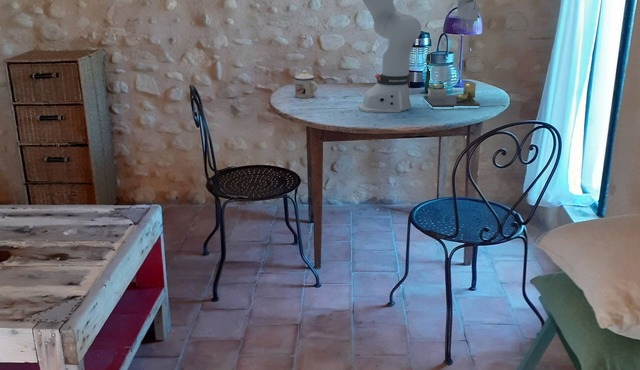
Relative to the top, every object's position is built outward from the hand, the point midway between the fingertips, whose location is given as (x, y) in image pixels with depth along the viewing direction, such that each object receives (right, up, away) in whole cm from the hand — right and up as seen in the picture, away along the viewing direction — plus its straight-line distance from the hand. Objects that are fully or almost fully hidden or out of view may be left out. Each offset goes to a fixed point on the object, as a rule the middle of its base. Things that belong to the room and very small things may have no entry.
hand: (466, 30), depth 278 cm
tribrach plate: (-6, -31, +4) cm, 32 cm away
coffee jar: (-9, -23, +27) cm, 36 cm away
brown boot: (0, -29, +3) cm, 29 cm away
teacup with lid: (-68, -26, +21) cm, 76 cm away
